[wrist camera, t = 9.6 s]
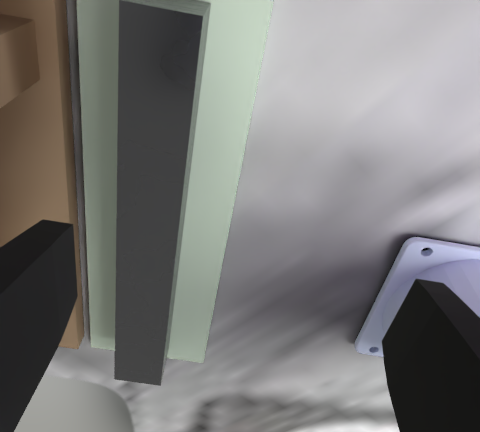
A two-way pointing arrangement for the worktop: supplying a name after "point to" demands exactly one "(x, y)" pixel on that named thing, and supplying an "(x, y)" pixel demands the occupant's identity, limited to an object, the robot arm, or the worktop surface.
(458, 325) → the robot arm
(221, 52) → the mat
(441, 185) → the worktop surface
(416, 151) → the worktop surface
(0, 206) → the hook stands
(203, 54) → the rail
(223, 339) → the worktop surface
